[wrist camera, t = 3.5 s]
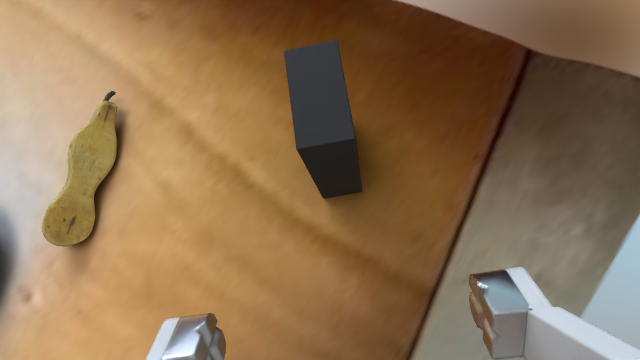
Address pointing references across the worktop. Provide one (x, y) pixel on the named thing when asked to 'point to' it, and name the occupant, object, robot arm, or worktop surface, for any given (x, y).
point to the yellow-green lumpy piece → (83, 178)
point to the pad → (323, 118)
